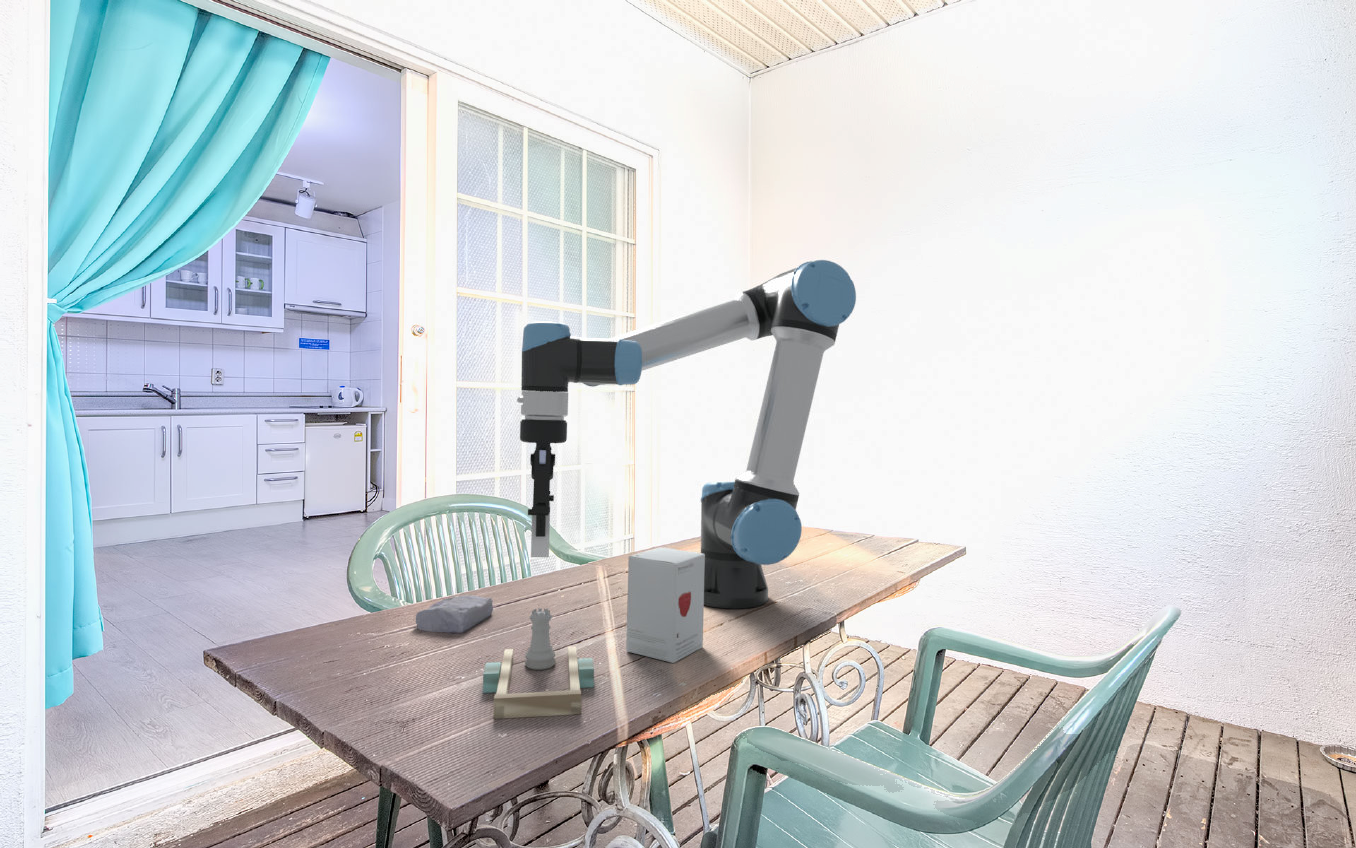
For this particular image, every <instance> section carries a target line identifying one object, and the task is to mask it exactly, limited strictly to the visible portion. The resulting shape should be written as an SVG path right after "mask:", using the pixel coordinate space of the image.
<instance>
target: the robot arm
mask: <svg viewBox="0 0 1356 848" xmlns="http://www.w3.org/2000/svg"><path fill="white" fill-rule="evenodd" d="M854 283H855V282H854V281H853V280H852V279H851V277H850V274H849V273H848V271H847V270H846V269H844V268H843V267H842V266H841V265H840V264H838V263H836V262H833V261H831V260H828V259H827V260H826V259H818V260H814V261H813V260H812V261H811V260H810V261H806V262H803V263H800V265H798V266H797V267H795V268H792V269H791V270H787V271H784V272H782V273H779V274H778V275H776V276H774V277H772V278H770V279H769V280H767V281H764V282H763V283H761V284H759V285H756V286H755V287H753V288H750V289H748V290H747V289H746V290H744V291H741V292H738V293H737V294H736V296H735V298H734V299H733V300H729V301H726V302H723V303H719V304H716V305H713V306H710V307H707V308H704V309H701V310H697V311H695V312H694V311H693V312H691V313H688V314H684V315H682V316H678V317H675V318H671V319H669V320H666V321H662V322H659V323H655V324H652V325H649V326H645V327H642V328H641V329H640V328H639V329H637V330H632V331H630V332H627V333H623V334H620V335H617V336H614V337H612V338H587V337H577V336H571V335H572V334H571V329H570V326H569V325H568V324H567V323H566V324H565V323H561V322H554V321H532V322H529V323H527V324H526V325H525V326H524V328H523V332H522V348H521V387H520V388H521V395H522V396H518V397H517V399H516V402H517V403H520V404H521V405H520V415H521V416H524V418H523V419H521V421H520V425H519V440H520V441H521V442H522V443H528V444H534V443H535V448H534V452H531V453H530V457H529V458H530V462H529V463H530V465H531V471H530V472H531V473H530V474H531V475H530V476H531V479H532V480H533V490H532V495H533V496H532V507H531V508H530V509H529V508H528V509H527V516H531V534H530V535H531V536H530V537H531V539H530V540H531V542H530V543H531V545H530V558H550V526H551V525H550V523H551V502H555V497H554V496H555V495H553V494H551V481H552V480H553V479H554V467H555V465H556V453H554V452H552V445H551V444H563V443H565V442H567V440H568V439H567V437H568V422H567V420H565V418H566V417H568V415H569V383H574V384H578V383H579V384H582V385H585V386H588V387H590V388H591V387H592V388H593V387H597V386H602V385H617V386H624V385H631V386H632V385H636V384H637V383H638V382H639V380H640V379H641V375H642V371H646V370H648V369H652V368H655V367H658V366H662V365H664V364H667V363H670V362H675V361H676V360H680V359H683V358H686V357H689V356H692V355H696V354H698V353H702V352H705V351H708V350H711V349H714V348H717V347H721V346H723V345H727V344H730V343H733V342H735V341H739V340H742V339H745V338H746V339H748V340H750V341H755V340H759V339H763V338H765V337H766V338H767V337H769V336H773V337H774V339H775V342H776V344H775V347H774V348H775V349H774V352H773V354H772V355H773V357H772V361H771V363H770V369H769V373H768V377H767V381H766V385H765V389H764V394H763V397H762V402H761V407H760V412H759V416H758V420H757V424H756V428H755V432H754V437H753V441H752V444H751V448H750V449H751V450H750V454H749V458H748V462H747V467H746V469H745V471H743V472H742V473H741V474H739V475H738V476H736V477H735V478H734V479H735V480H734V481H721V482H718V481H717V482H715V481H714V482H707V483H705V484H703V487H702V488H701V497H700V503H701V504H700V505H701V507H700V508H701V509H700V510H701V513H700V514H701V516H700V519H701V520H700V553H703V554H705V567H704V606H707V607H712V608H719V609H751V608H756V607H759V606H762V605H764V604H766V603H767V602H768V600H769V587H768V584H767V583H768V582H767V580H766V577H765V573H764V571H763V570H764V569H763V566H769V565H774V564H775V565H776V564H778V563H780V562H782V561H784V560H785V559H787V558H788V557H790V555H792V553H793V552H794V551H795V550H796V548H797V547H798V546H799V545H798V544H799V543H800V540H801V537H802V530H803V529H802V520H801V518H800V517H799V514H798V511H797V507H798V501H799V497H800V492H799V490H798V488H797V487H796V485H795V484H794V483H795V482H794V480H795V477H796V473H797V471H796V470H797V467H798V463H799V459H800V455H801V452H802V451H801V450H802V446H803V442H804V437H805V433H806V429H807V425H808V422H809V421H808V420H809V418H810V417H809V416H810V412H811V408H812V404H813V399H814V395H815V390H816V386H817V383H818V378H819V375H820V374H819V373H820V370H821V365H822V362H823V357H824V353H825V351H827V350H829V349H830V348H832V347H834V346H835V343H836V339H837V336H838V332H839V328H840V325H841V324H843V323H844V322H845V321H847V320H848V318H849V317H850V316H851V315H852V313H853V311H854V309H855V306H856V301H857V293H856V287H855V284H854Z"/></svg>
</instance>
